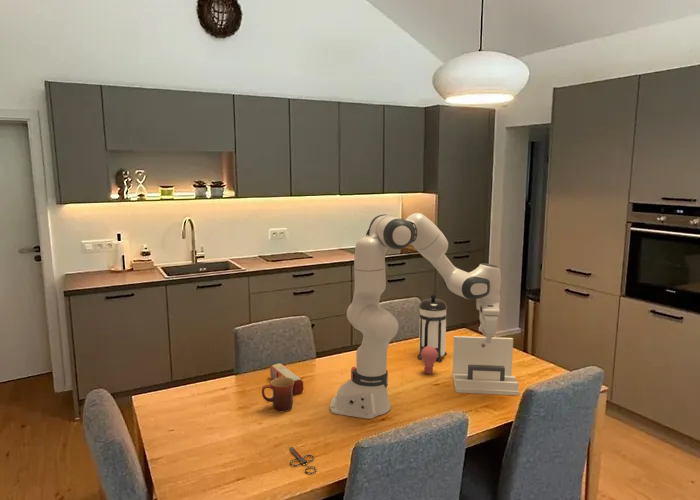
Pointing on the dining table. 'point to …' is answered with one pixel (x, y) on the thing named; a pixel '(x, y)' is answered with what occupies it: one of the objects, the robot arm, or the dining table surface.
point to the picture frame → (486, 372)
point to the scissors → (301, 459)
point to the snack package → (282, 371)
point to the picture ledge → (483, 354)
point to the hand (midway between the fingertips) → (486, 338)
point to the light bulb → (429, 358)
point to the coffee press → (433, 325)
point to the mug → (281, 393)
